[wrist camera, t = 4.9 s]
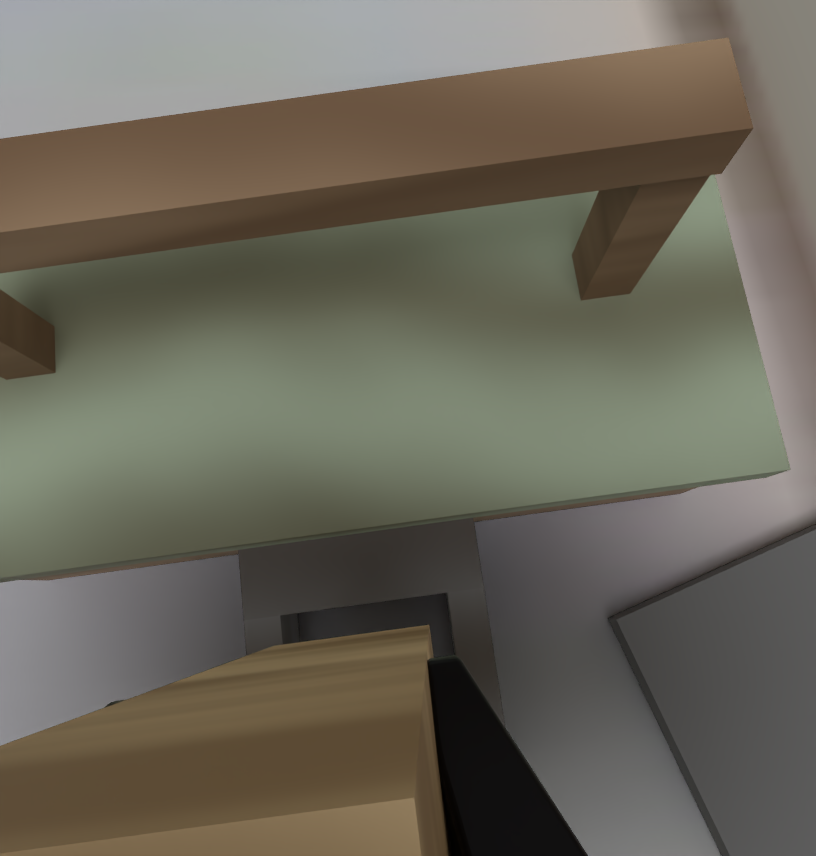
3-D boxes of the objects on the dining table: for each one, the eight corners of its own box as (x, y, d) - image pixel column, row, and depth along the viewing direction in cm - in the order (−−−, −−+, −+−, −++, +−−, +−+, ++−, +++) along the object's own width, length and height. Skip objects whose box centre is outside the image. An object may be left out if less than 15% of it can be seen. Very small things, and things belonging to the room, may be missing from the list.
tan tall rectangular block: (452, 794, 15) (576, 2141, 2) (288, 816, 15) (-641, 2290, 2) (429, 624, 15) (413, 798, 3) (273, 645, 15) (-463, 915, 3)
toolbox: (748, 751, 20) (1242, 1009, 8) (42, 848, 21) (-563, 1252, 8) (624, 197, 24) (824, -210, 12) (33, 279, 24) (-382, -41, 12)
